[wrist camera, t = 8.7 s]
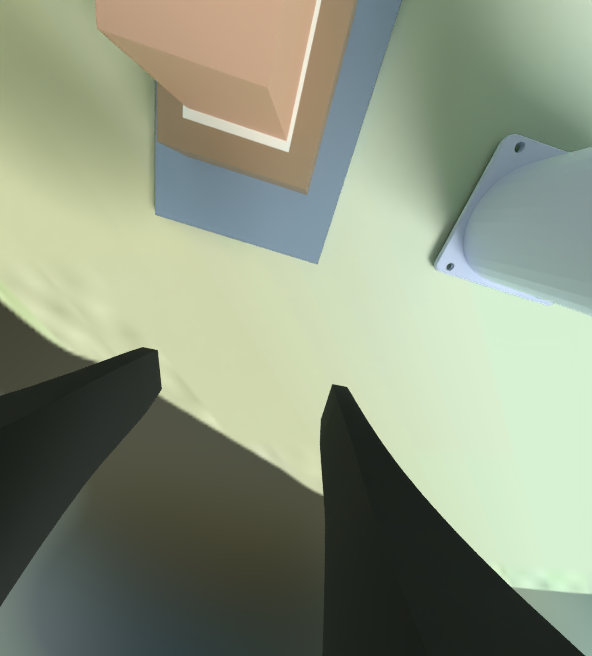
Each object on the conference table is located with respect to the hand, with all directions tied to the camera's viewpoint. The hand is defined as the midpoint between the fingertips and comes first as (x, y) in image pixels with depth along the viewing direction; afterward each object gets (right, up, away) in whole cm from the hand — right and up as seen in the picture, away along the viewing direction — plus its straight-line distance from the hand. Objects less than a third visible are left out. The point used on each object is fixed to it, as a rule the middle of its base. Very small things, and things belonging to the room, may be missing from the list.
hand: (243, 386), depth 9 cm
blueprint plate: (0, +16, +4) cm, 16 cm away
